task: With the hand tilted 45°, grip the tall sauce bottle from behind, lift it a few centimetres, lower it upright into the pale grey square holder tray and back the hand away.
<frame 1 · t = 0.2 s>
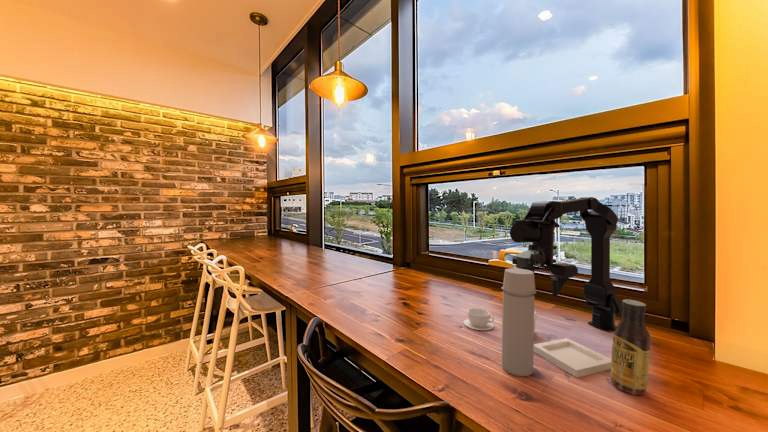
hand: (541, 292, 86), 15 cm above the table, tool pointing down, fingers open, 9 cm apart
sauce bottle: (628, 389, 63), on the table
holder tray: (571, 359, 75), on the table
teacup: (478, 325, 96), on the table
water bottle: (517, 368, 70), on the table
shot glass: (524, 332, 91), on the table
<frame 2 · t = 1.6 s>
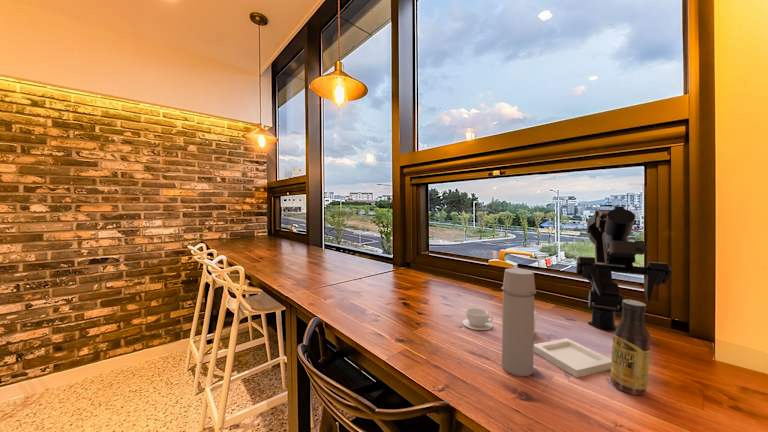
hand: (623, 297, 69), 18 cm above the table, tool tilted 45°, fingers open, 9 cm apart
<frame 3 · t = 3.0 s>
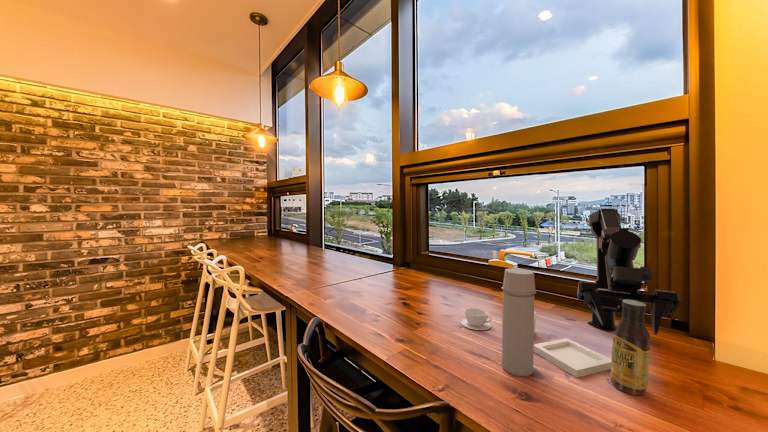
hand: (628, 329, 64), 13 cm above the table, tool tilted 45°, fingers open, 9 cm apart
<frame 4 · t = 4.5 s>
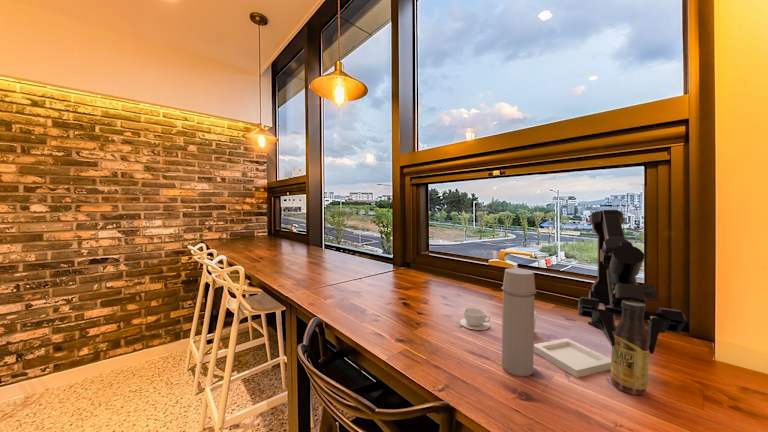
hand: (631, 349, 61), 10 cm above the table, tool tilted 45°, fingers closed on sauce bottle, 6 cm apart
sauce bottle: (628, 389, 63), on the table, touching gripper
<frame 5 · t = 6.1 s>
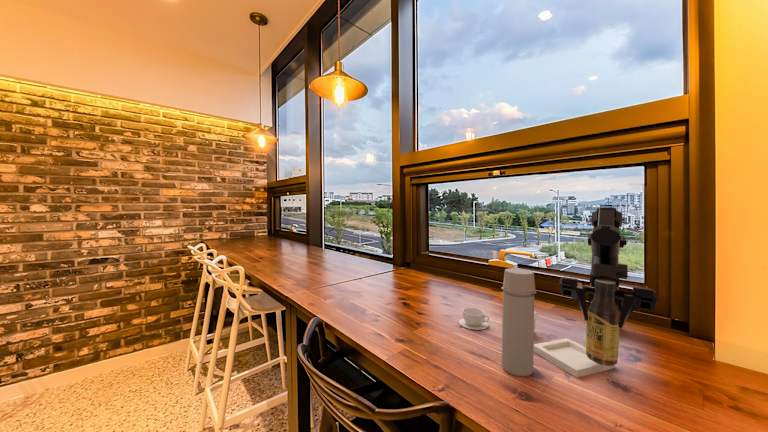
hand: (602, 323, 66), 13 cm above the table, tool tilted 45°, fingers closed on sauce bottle, 6 cm apart
sauce bottle: (601, 361, 67), point 3 cm above the table, touching gripper
when the fingers open (11 cm above the table, at t = 7.7 s): sauce bottle stays where it is, resting on holder tray.
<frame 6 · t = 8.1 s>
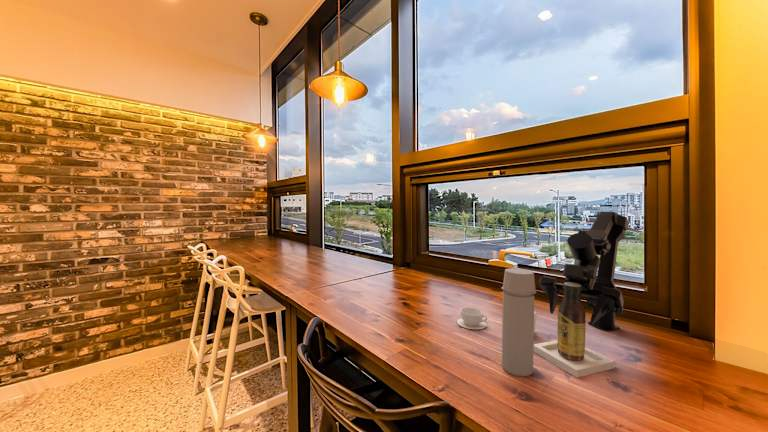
hand: (570, 318, 73), 12 cm above the table, tool tilted 45°, fingers open, 9 cm apart
sauce bottle: (571, 356, 75), resting on holder tray
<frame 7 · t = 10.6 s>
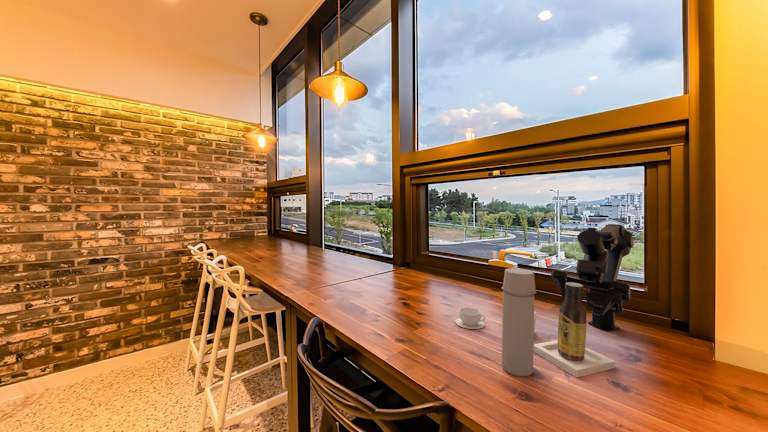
hand: (581, 308, 80), 12 cm above the table, tool tilted 45°, fingers open, 9 cm apart
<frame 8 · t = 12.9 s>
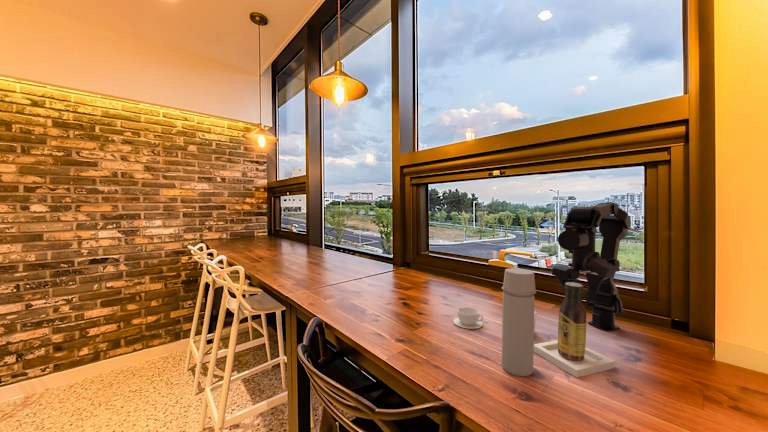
hand: (582, 298, 85), 13 cm above the table, tool pointing down, fingers open, 9 cm apart
at the end: sauce bottle 0.3 cm off-centre on the holder tray, point 0.4 cm above the holder tray's base; sauce bottle tilted 0°; the gripper is holding nothing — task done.
